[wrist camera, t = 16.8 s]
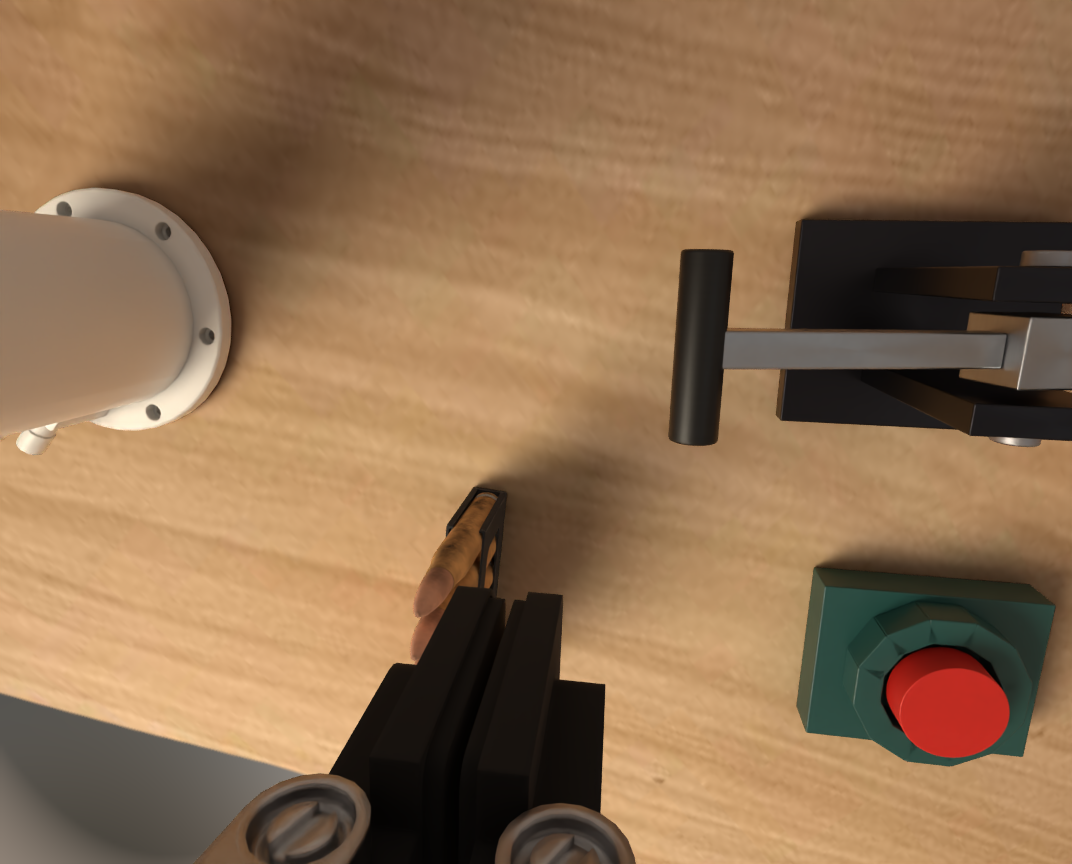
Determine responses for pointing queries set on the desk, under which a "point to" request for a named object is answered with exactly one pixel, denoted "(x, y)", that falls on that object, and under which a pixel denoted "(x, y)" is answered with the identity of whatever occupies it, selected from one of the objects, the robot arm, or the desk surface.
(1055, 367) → the lever
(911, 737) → the button
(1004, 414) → the stand
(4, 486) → the desk surface
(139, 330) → the robot arm
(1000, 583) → the button block
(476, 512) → the ammunition clip
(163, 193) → the desk surface
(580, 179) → the desk surface
